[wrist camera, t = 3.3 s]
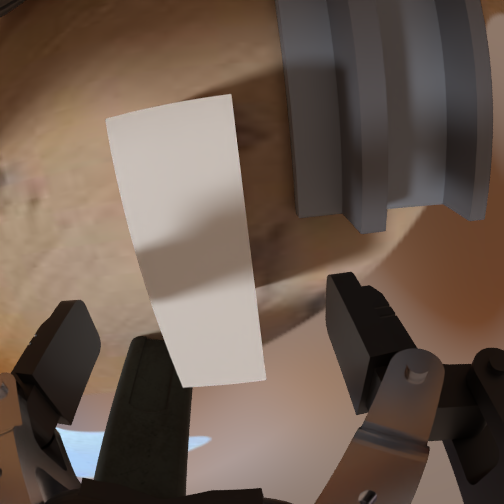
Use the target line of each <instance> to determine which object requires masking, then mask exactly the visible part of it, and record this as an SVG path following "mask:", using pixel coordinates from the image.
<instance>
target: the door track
mask: <svg viewBox="0 0 504 504" xmlns="http://www.w3.org/2000/svg"><path fill="white" fill-rule="evenodd" d="M275 6H276V13H277V20H278V28H279V35H280V43H281V51H282V60H283V69H284V78H285V87H286V97H287V107H288V117H289V128H290V140H291V152H292V164H293V178H294V192H295V208H296V214H297V215H298V217H299V218H305V217H314V216H323V215H332V214H343V215H344V216H345V217H346V218H347V219H348V220H349V221H350V222H351V223H352V224H353V226H354V227H355V228H356V229H357V230H358V231H359V232H360V233H361V234H366V233H374V232H383V231H386V218H387V209H392V208H403V207H414V206H425V205H437V204H444V205H445V206H447V207H448V208H450V209H452V210H453V211H455V212H456V213H458V214H459V215H461V216H462V217H464V218H465V219H467V220H469V221H474V220H482V219H484V218H485V212H486V206H487V198H488V190H489V181H490V170H491V157H492V138H493V136H492V135H493V99H492V80H491V67H490V57H489V48H488V41H487V34H486V28H485V22H484V17H483V11H482V7H481V2H480V0H275Z"/></svg>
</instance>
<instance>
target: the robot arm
mask: <svg viewBox="0 0 504 504" xmlns="http://www.w3.org/2000/svg"><path fill="white" fill-rule="evenodd" d="M326 326H327V331H328V334H329V338H330V340H331V343H332V346H333V349H334V351H335V354H336V357H337V360H338V363H339V366H340V368H341V371H342V374H343V377H344V379H345V383H346V386H347V388H348V392H349V394H350V398H351V400H352V403H353V406H354V409H355V412H356V415H359V414H364V413H368V414H367V416H366V418H365V421H364V422H363V424H362V426H361V427H359V429H358V430H357V432H356V433H355V435H354V437H353V439H352V441H351V443H350V444H349V446H348V448H347V450H346V452H345V453H344V456H343V457H342V459H341V461H340V463H339V464H338V466H337V468H336V470H335V471H334V473H333V475H332V476H331V478H330V480H329V481H328V483H327V484H326V486H325V488H324V489H323V491H322V493H321V494H320V496H319V497H318V499H317V500H316V502H315V503H314V504H411V502H412V500H413V498H414V495H415V493H416V490H417V488H418V485H419V482H420V479H421V477H422V474H423V471H424V468H425V466H426V463H427V460H428V456H429V451H430V448H429V446H427V443H428V441H439V440H442V441H443V444H444V447H445V449H446V452H447V455H448V457H449V460H450V463H451V466H452V468H453V471H454V474H455V477H456V480H457V483H458V486H459V489H460V492H461V496H462V498H463V502H464V504H504V350H501V349H498V348H486V349H483V350H481V351H480V352H478V353H477V354H476V356H475V358H474V360H473V362H472V364H455V365H454V364H452V365H448V364H442V362H441V361H440V359H439V358H438V357H437V356H435V355H434V354H432V353H431V352H429V351H426V350H423V349H417V347H416V345H415V344H414V342H413V341H412V339H411V337H410V336H409V334H408V333H407V331H406V329H405V328H404V326H403V325H402V323H401V322H400V320H399V318H398V317H397V316H395V312H394V311H393V309H392V308H391V307H390V306H389V303H388V302H387V300H386V299H385V297H384V296H383V294H382V293H380V292H379V291H377V290H376V289H374V288H373V287H371V286H369V285H368V286H362V287H361V285H360V283H359V282H358V280H357V278H356V277H355V275H354V274H353V273H352V272H346V273H339V274H331V275H328V276H327V287H326ZM29 344H30V345H28V346H27V348H26V349H25V351H24V352H23V354H22V356H21V357H20V359H19V361H18V362H17V364H16V366H15V367H14V369H13V371H12V372H11V374H10V373H1V374H0V504H292V503H289V502H286V501H281V500H277V499H271V498H264V496H263V493H262V489H261V488H256V489H241V490H212V491H207V492H202V493H198V494H193V495H187V496H182V497H176V498H170V499H159V498H156V497H153V496H150V495H147V494H144V493H141V492H138V491H136V490H133V489H131V488H128V487H125V486H123V485H120V484H115V483H109V482H103V481H97V480H92V479H87V478H82V483H80V482H79V480H78V479H77V477H76V475H75V473H74V470H73V468H72V466H71V463H70V461H69V458H68V455H67V453H66V450H65V447H64V445H63V442H62V439H61V436H60V434H59V432H58V431H57V430H56V429H55V428H56V426H57V423H59V424H65V425H71V424H72V422H73V419H74V416H75V413H76V410H77V408H78V405H79V402H80V400H81V397H82V395H83V392H84V389H85V387H86V384H87V382H88V379H89V377H90V374H91V372H92V369H93V367H94V365H95V362H96V360H97V357H98V355H99V353H100V348H101V342H100V337H99V334H98V332H97V330H96V328H95V326H94V323H93V321H92V319H91V317H90V315H89V312H88V310H87V308H86V305H85V304H84V302H83V301H81V300H70V301H61V302H60V303H59V304H58V306H57V307H56V309H55V310H54V312H53V313H52V315H51V316H50V318H48V319H47V320H46V321H45V322H44V323H43V324H42V325H41V326H40V327H39V329H38V330H37V332H36V334H35V337H33V338H32V340H31V341H30V343H29Z"/></svg>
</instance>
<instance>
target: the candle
mask: <svg viewBox="0 0 504 504" xmlns="http://www.w3.org/2000/svg"><path fill="white" fill-rule="evenodd" d="M191 400H192V387H184V388H183V386H182V384H181V382H180V379H179V377H178V374H177V372H176V369H175V367H174V364H173V362H172V359H171V357H170V354H169V351H168V349H167V346H166V344H165V341H160V340H152V339H147V338H146V337H136V338H134V339H133V340H132V342H131V344H130V347H129V350H128V353H127V357H126V360H125V363H124V366H123V369H122V373H121V376H120V379H119V383H118V386H117V389H116V393H115V396H114V400H113V403H112V407H111V411H110V414H109V418H108V422H107V426H106V430H105V433H104V437H103V441H102V445H101V450H100V454H99V458H98V462H97V467H96V471H95V476H94V480H97V481H103V482H109V483H115V484H120V485H123V486H125V487H128V488H131V489H133V490H136V491H138V492H141V493H144V494H147V495H150V496H153V497H156V498H159V499H170V498H176V497H182V496H186V476H187V458H188V441H189V427H190V425H189V424H190V413H191V412H190V411H191Z"/></svg>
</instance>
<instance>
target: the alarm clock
mask: <svg viewBox="0 0 504 504" xmlns="http://www.w3.org/2000/svg"><path fill="white" fill-rule="evenodd" d="M24 1H25V0H0V17H2V16H4V15H5V14H7V13H8V12H10V11H11V10H13V9H14V8H16V7H17V6H19V5H20V4H21V3H23V2H24Z"/></svg>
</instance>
